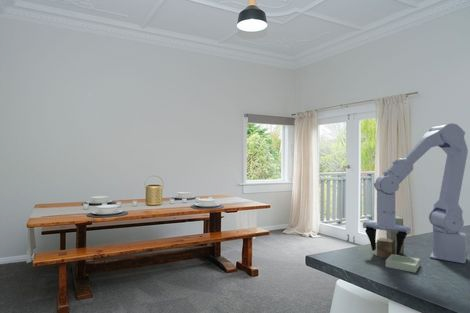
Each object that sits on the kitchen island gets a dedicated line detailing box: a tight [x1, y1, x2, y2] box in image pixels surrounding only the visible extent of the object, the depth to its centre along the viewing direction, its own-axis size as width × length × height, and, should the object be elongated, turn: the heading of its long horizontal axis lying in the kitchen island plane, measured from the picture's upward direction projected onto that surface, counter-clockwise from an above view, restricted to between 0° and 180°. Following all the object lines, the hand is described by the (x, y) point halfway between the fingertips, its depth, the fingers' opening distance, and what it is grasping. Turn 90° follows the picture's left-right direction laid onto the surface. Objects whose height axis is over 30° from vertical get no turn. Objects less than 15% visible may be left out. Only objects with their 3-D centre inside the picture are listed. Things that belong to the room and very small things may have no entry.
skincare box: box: [385, 215, 405, 254], centre depth 115 cm, size 6×4×12 cm
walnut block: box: [376, 237, 396, 259], centre depth 108 cm, size 5×5×6 cm
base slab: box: [385, 254, 421, 273], centre depth 99 cm, size 8×8×2 cm
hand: (385, 251), depth 108 cm, fingers open, 7 cm apart
